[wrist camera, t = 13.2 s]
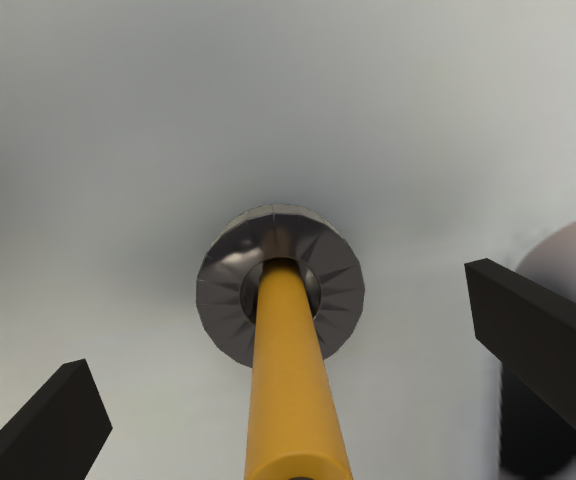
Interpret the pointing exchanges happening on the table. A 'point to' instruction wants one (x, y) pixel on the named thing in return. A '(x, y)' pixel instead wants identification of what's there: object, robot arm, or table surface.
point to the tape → (260, 251)
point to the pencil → (290, 388)
